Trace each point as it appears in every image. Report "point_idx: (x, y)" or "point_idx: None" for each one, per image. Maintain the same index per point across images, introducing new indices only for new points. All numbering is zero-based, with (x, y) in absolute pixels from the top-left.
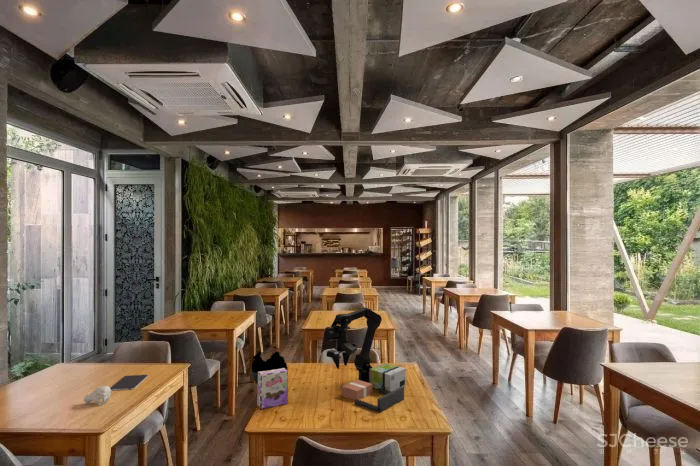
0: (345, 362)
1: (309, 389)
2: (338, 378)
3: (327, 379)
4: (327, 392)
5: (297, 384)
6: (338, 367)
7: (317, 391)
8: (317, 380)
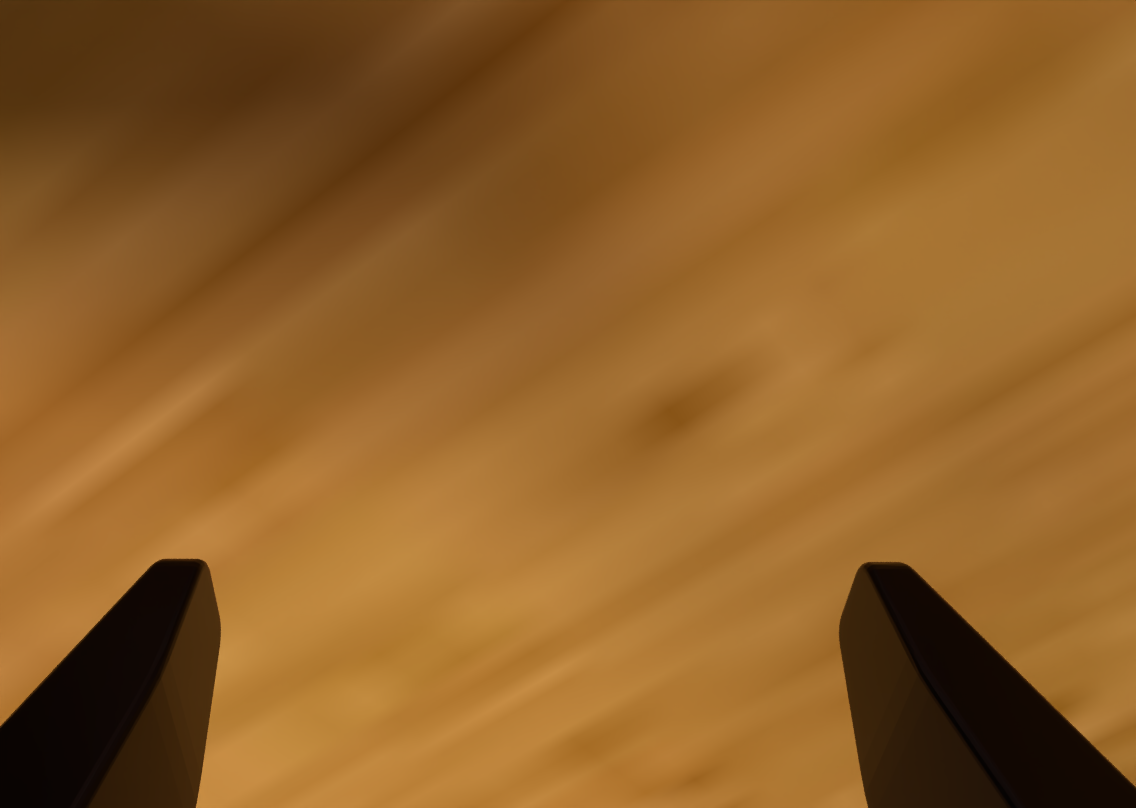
0: (158, 764)
1: None
2: (5, 563)
3: (249, 658)
4: (904, 234)
5: (800, 796)
6: (945, 607)
7: (947, 426)
8: (434, 727)
